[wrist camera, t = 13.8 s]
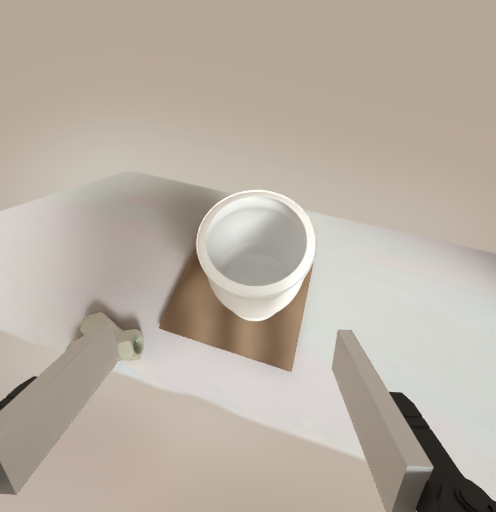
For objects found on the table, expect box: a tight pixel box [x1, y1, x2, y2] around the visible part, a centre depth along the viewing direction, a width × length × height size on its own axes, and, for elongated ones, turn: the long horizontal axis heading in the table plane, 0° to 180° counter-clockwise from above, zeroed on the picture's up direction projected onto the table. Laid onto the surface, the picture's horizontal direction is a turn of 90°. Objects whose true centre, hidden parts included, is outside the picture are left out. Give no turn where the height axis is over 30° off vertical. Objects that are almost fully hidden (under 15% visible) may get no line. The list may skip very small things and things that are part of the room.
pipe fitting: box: [65, 312, 143, 361], centre depth 31 cm, size 8×4×7 cm
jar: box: [196, 190, 317, 321], centre depth 27 cm, size 11×10×15 cm
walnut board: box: [159, 247, 314, 372], centre depth 35 cm, size 18×18×2 cm
